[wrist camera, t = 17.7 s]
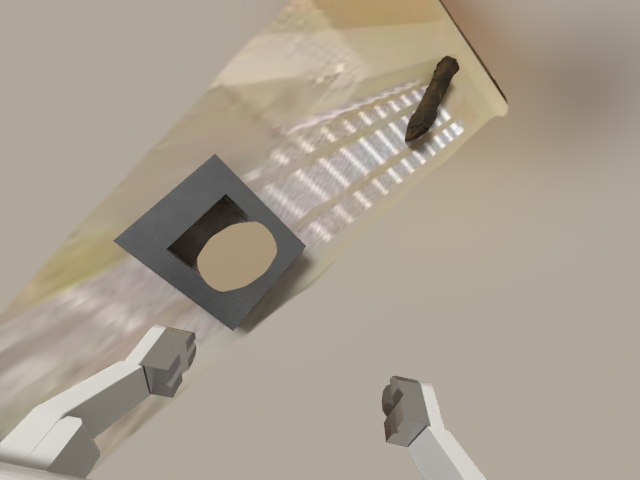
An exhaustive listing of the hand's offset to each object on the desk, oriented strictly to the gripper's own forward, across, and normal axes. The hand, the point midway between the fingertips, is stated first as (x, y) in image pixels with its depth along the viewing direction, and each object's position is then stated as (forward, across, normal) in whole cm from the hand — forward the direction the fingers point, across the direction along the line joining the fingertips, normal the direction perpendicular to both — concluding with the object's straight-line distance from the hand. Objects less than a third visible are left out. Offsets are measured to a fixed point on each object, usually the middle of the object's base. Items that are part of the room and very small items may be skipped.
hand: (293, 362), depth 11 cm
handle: (+22, +12, +12) cm, 27 cm away
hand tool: (+53, -15, -9) cm, 56 cm away
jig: (+22, +12, +11) cm, 27 cm away
